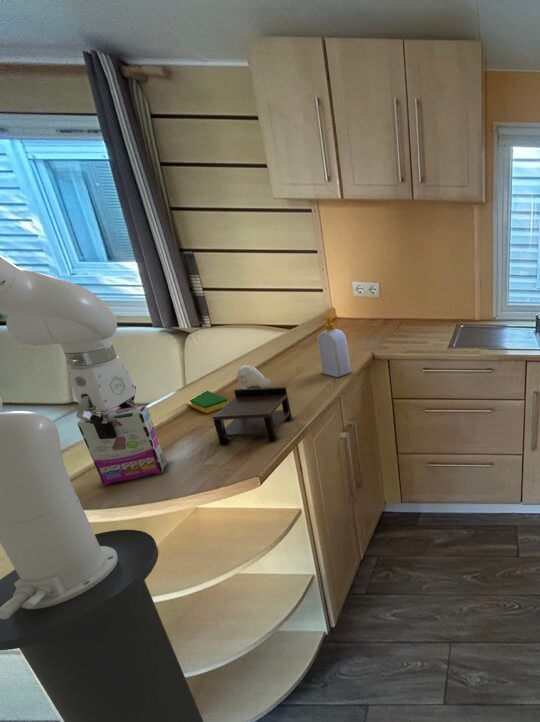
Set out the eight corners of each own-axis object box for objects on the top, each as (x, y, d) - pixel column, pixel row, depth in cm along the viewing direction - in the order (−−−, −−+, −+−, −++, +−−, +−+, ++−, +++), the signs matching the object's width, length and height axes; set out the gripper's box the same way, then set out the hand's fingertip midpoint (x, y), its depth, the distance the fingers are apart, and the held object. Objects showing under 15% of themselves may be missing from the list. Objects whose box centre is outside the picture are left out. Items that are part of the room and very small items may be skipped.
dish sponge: (206, 413, 127) (204, 406, 126) (185, 404, 134) (183, 397, 133) (229, 405, 133) (228, 398, 132) (208, 396, 140) (206, 390, 139)
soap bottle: (352, 372, 162) (345, 316, 154) (338, 377, 157) (329, 319, 148) (337, 368, 166) (328, 313, 158) (322, 373, 161) (313, 316, 152)
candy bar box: (167, 463, 101) (147, 403, 95) (163, 473, 97) (141, 412, 91) (109, 475, 97) (84, 413, 91) (102, 486, 92) (75, 422, 86)
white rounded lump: (248, 361, 147) (274, 368, 144) (251, 383, 150) (277, 389, 147) (232, 367, 142) (259, 374, 138) (236, 389, 145) (263, 396, 142)
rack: (275, 441, 111) (267, 407, 108) (220, 444, 110) (210, 410, 106) (292, 418, 124) (285, 387, 121) (243, 421, 123) (235, 389, 119)
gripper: (78, 369, 79) (109, 449, 85) (139, 344, 95) (162, 413, 101) (34, 371, 78) (69, 451, 84) (103, 345, 94) (128, 414, 100)
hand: (119, 430), depth 93 cm, fingers closed on candy bar box, 6 cm apart
